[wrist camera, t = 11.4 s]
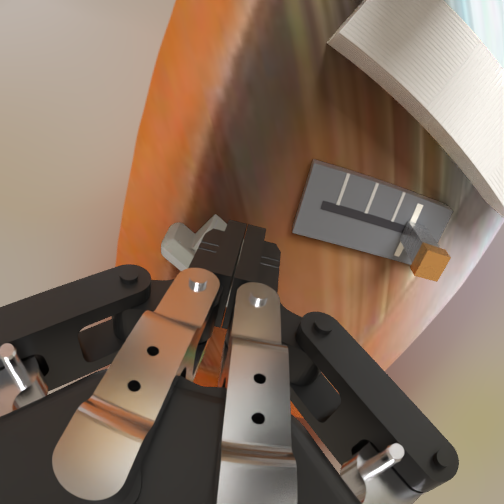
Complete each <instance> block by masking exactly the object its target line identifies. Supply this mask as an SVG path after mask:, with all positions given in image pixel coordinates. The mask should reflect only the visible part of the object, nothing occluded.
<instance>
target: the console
mask: <svg viewBox="0 0 504 504" xmlns="http://www.w3.org/2000/svg"><path fill="white" fill-rule="evenodd" d="M452 213H453V210H452V209H451V208H450V207H449V206H448V205H446V204H444V203H441V202H439V201H436V200H434V199H431V198H429V197H426V196H423V195H421V194H418V193H416V192H413V191H410V190H407V189H405V188H402V187H399V186H396V185H394V184H391V183H388V182H385V181H382V180H379V179H376V178H373V177H370V176H367V175H364V174H361V173H358V172H355V171H352V170H349V169H345V168H342V167H339V166H336V165H332V164H329V163H325V162H322V161H318V160H315V159H313V161H312V164H311V167H310V171H309V174H308V177H307V181H306V184H305V187H304V190H303V194H302V197H301V200H300V203H299V207H298V210H297V213H296V216H295V220H294V223H293V226H292V233H295V234H299V235H303V236H307V237H310V238H314V239H318V240H322V241H326V242H329V243H333V244H337V245H341V246H345V247H348V248H352V249H356V250H359V251H363V252H367V253H370V254H374V255H378V256H381V257H385V258H388V259H392V260H396V261H399V262H403V263H406V264H410V265H411V264H412V262H411V260H410V258H409V256H408V254H407V252H406V251H405V249H404V247H403V245H402V243H401V241H400V237H401V235H402V233H403V231H404V229H405V227H406V225H407V222H408V221H411V222H414V223H417V224H419V225H422V226H425V227H426V228H427V229H428V231H429V232H430V233H431V235H432V236H433V238H434V239H435V241H436V242H437V243H438V241H439V239H440V237H441V235H442V233H443V231H444V229H445V227H446V225H447V223H448V221H449V219H450V217H451V215H452Z"/></svg>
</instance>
